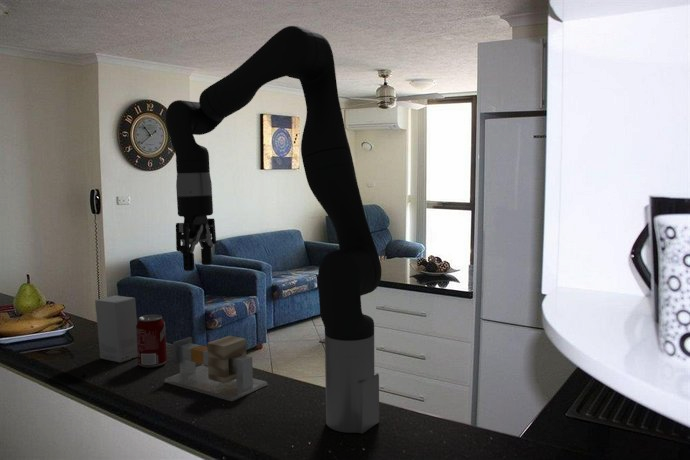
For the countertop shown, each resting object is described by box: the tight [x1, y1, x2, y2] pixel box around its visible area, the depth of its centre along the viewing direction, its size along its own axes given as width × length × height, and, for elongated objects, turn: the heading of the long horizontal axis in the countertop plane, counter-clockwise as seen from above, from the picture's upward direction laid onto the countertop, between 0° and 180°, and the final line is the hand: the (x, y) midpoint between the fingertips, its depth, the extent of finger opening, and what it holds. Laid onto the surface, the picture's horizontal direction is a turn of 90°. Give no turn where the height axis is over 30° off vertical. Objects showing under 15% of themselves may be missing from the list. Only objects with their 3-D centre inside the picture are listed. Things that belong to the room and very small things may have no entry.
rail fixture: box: [164, 336, 268, 402], centre depth 134 cm, size 21×11×8 cm, turn 56°
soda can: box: [136, 314, 168, 369], centre depth 147 cm, size 7×7×12 cm
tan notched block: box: [206, 335, 247, 383], centre depth 131 cm, size 5×7×8 cm
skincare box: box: [94, 294, 138, 363], centre depth 152 cm, size 8×7×16 cm
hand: (198, 267), depth 131 cm, fingers open, 8 cm apart
